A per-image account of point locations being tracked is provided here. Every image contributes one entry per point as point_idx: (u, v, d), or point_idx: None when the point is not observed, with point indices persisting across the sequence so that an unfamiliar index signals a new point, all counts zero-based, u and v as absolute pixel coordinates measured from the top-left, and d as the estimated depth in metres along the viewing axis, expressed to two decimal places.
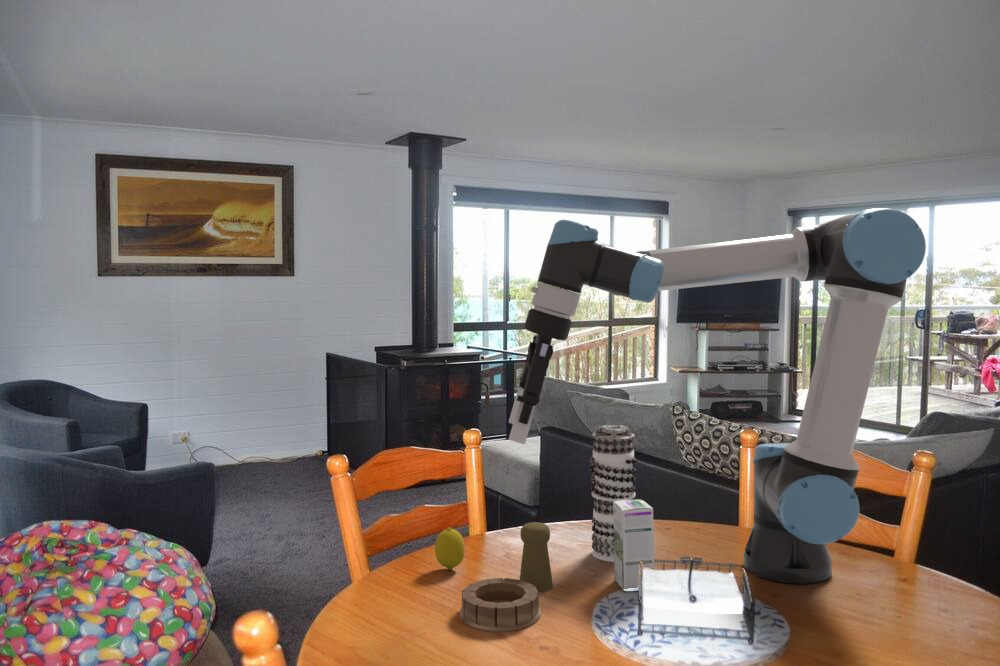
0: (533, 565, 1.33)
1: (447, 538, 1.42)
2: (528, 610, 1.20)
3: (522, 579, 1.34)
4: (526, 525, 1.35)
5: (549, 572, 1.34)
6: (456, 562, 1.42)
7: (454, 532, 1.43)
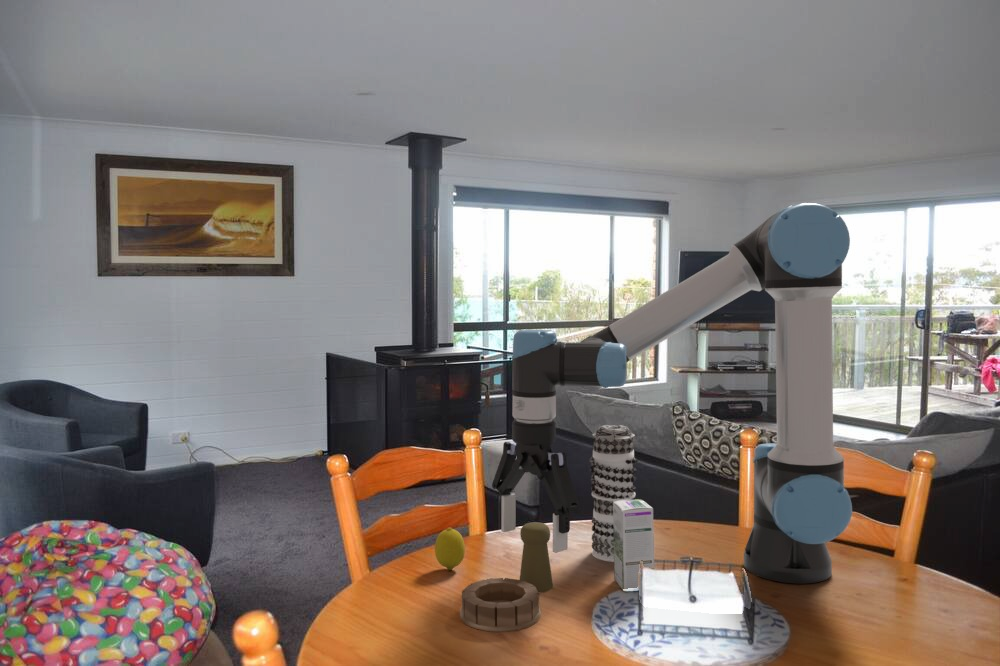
0: (533, 565, 1.33)
1: (447, 538, 1.42)
2: (528, 610, 1.20)
3: (522, 579, 1.34)
4: (526, 525, 1.35)
5: (549, 572, 1.34)
6: (456, 562, 1.42)
7: (454, 532, 1.43)
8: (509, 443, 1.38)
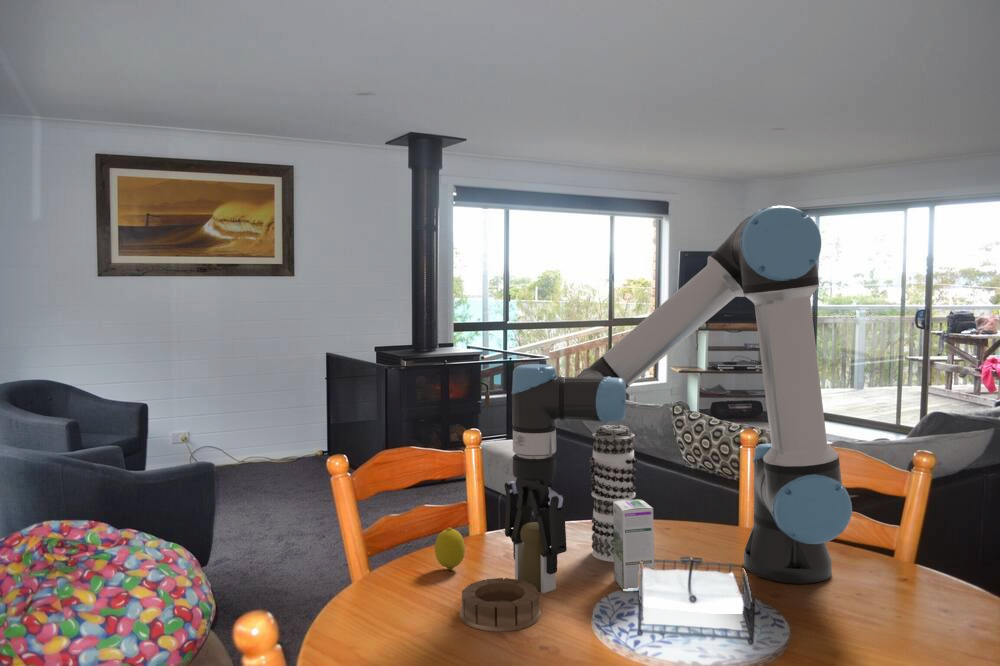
0: (533, 565, 1.33)
1: (447, 538, 1.42)
2: (528, 610, 1.20)
3: (522, 579, 1.34)
4: (526, 525, 1.35)
5: None
6: (456, 562, 1.42)
7: (454, 532, 1.43)
8: (509, 483, 1.39)
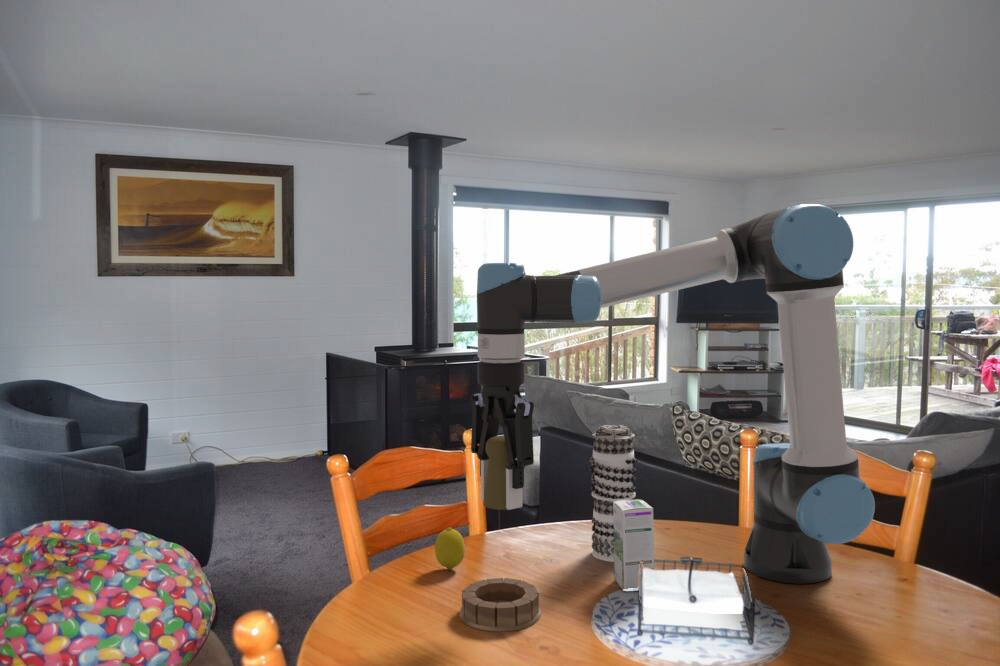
0: (498, 480, 1.23)
1: (447, 538, 1.42)
2: (528, 610, 1.20)
3: (487, 496, 1.24)
4: (492, 438, 1.24)
5: None
6: (456, 562, 1.42)
7: (454, 532, 1.43)
8: (476, 394, 1.28)
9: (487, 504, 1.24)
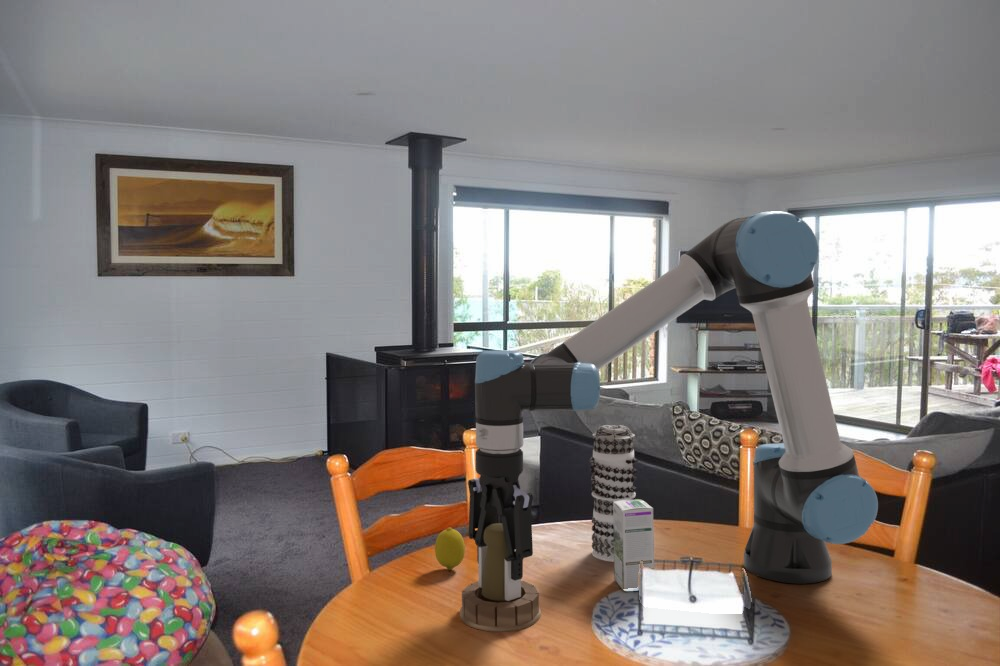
0: (497, 570, 1.22)
1: (447, 538, 1.42)
2: (528, 610, 1.20)
3: (485, 585, 1.23)
4: (490, 526, 1.23)
5: None
6: (456, 562, 1.42)
7: (454, 532, 1.43)
8: (473, 480, 1.27)
9: (485, 594, 1.23)
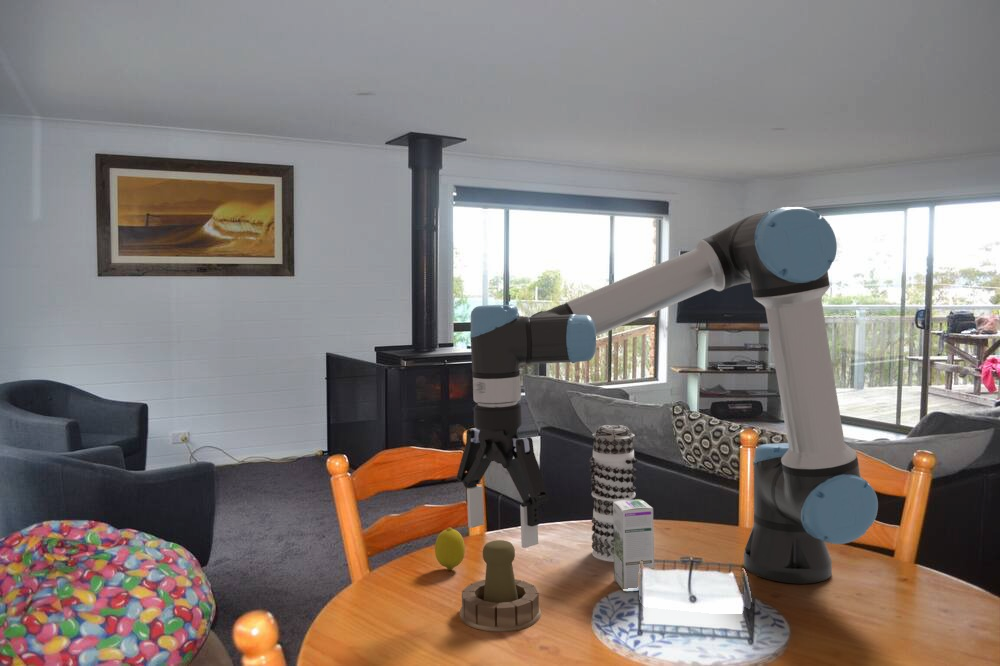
0: (497, 588, 1.22)
1: (447, 538, 1.42)
2: (528, 610, 1.20)
3: None
4: (488, 544, 1.24)
5: (515, 594, 1.23)
6: (456, 562, 1.42)
7: (454, 532, 1.43)
8: (472, 430, 1.27)
9: None
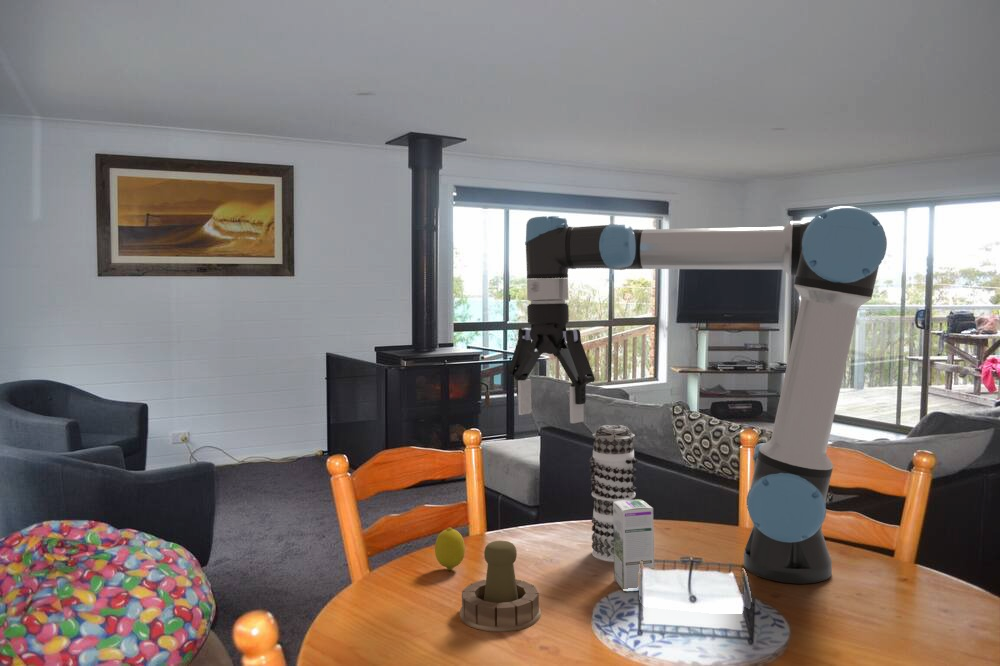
0: (498, 588, 1.22)
1: (447, 538, 1.42)
2: (528, 610, 1.20)
3: None
4: (490, 544, 1.24)
5: (516, 595, 1.23)
6: (456, 562, 1.42)
7: (454, 532, 1.43)
8: (524, 329, 1.46)
9: None
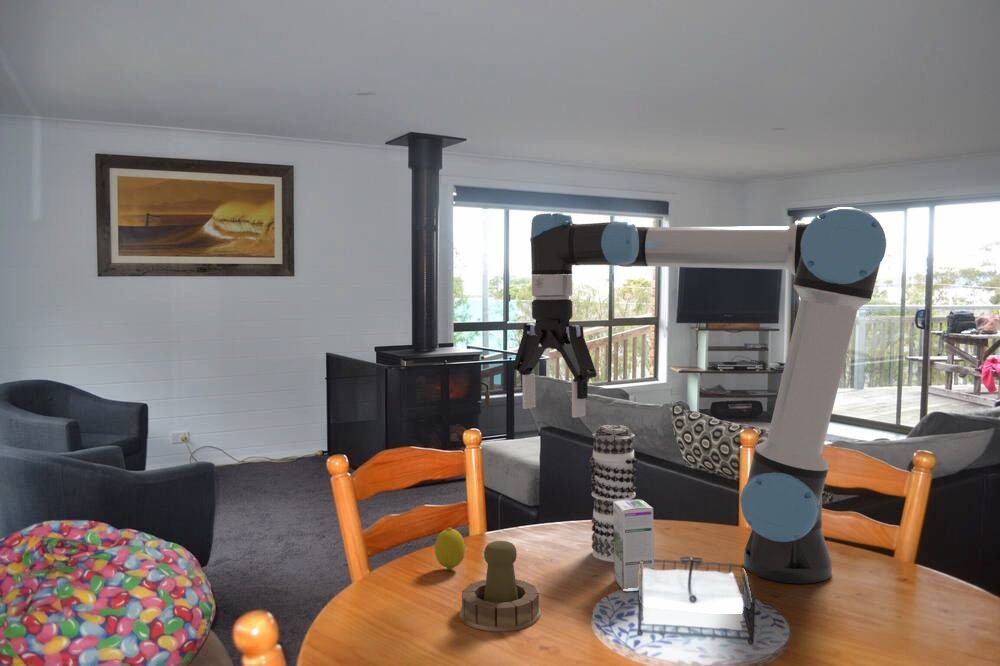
0: (498, 588, 1.22)
1: (447, 538, 1.42)
2: (528, 610, 1.20)
3: None
4: (490, 544, 1.24)
5: (516, 595, 1.23)
6: (456, 562, 1.42)
7: (454, 532, 1.43)
8: (529, 324, 1.48)
9: None
